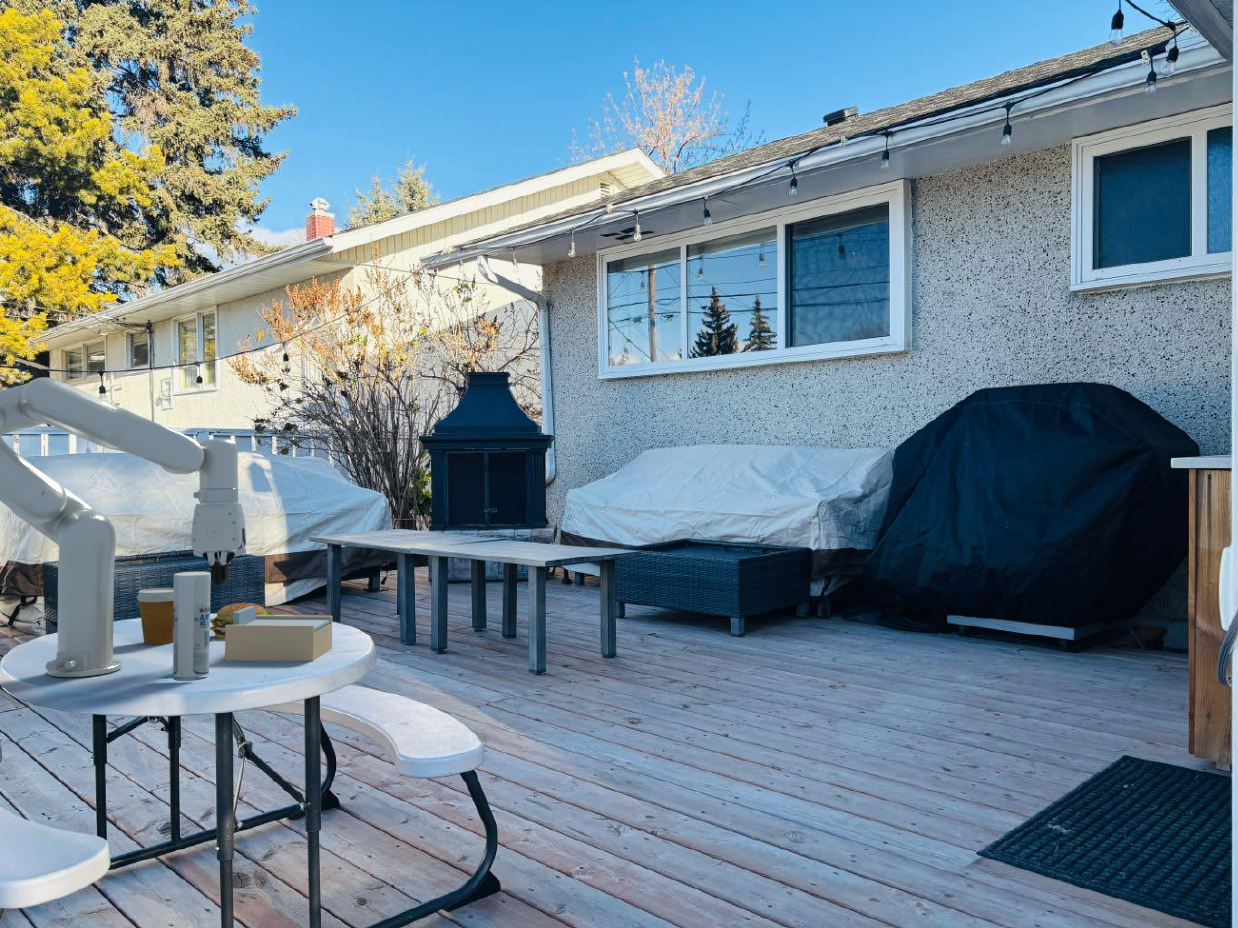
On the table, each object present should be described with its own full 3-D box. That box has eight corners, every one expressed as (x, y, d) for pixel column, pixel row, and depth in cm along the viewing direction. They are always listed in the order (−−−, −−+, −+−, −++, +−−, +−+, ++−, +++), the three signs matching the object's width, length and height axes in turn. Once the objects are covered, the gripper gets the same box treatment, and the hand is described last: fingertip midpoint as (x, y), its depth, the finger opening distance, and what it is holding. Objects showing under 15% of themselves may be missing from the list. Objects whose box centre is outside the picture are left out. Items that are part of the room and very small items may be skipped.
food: (235, 644, 209) (236, 609, 209) (198, 638, 217) (199, 604, 217) (286, 635, 221) (286, 602, 221) (249, 629, 228) (250, 597, 228)
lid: (314, 631, 189) (314, 613, 189) (228, 630, 189) (228, 613, 189) (329, 622, 200) (329, 606, 200) (248, 622, 200) (248, 605, 200)
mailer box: (312, 664, 188) (313, 625, 188) (224, 664, 188) (225, 625, 188) (331, 652, 201) (332, 615, 201) (249, 651, 201) (249, 615, 201)
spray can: (180, 673, 179) (181, 571, 179) (214, 673, 179) (216, 571, 179) (166, 681, 172) (167, 575, 172) (201, 681, 173) (203, 575, 173)
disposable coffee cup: (169, 646, 206) (169, 593, 206) (127, 646, 206) (128, 592, 206) (190, 638, 215) (190, 587, 215) (150, 638, 215) (150, 587, 215)
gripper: (175, 498, 191) (176, 586, 191) (247, 497, 191) (248, 585, 191) (191, 496, 198) (192, 581, 198) (261, 496, 198) (262, 580, 198)
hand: (220, 583), depth 195 cm, fingers closed
